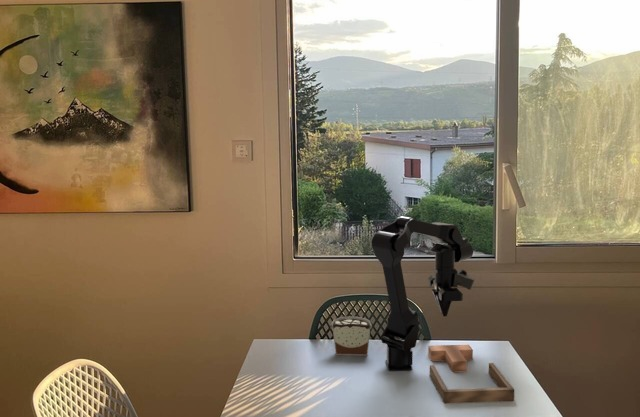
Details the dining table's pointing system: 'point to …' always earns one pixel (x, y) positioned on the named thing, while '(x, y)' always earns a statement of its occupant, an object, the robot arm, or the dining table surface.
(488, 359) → the dining table surface
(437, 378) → the walnut bay
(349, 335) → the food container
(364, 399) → the dining table surface
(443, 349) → the terracotta T block
